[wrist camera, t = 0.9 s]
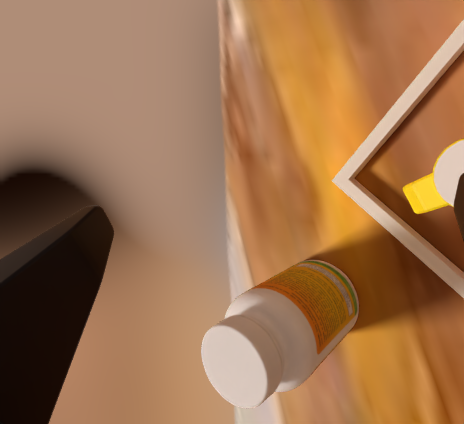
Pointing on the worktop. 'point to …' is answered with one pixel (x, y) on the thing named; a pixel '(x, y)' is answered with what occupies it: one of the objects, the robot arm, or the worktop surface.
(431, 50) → the worktop surface
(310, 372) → the supplement bottle
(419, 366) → the worktop surface
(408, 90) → the white square frame
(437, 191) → the watch
